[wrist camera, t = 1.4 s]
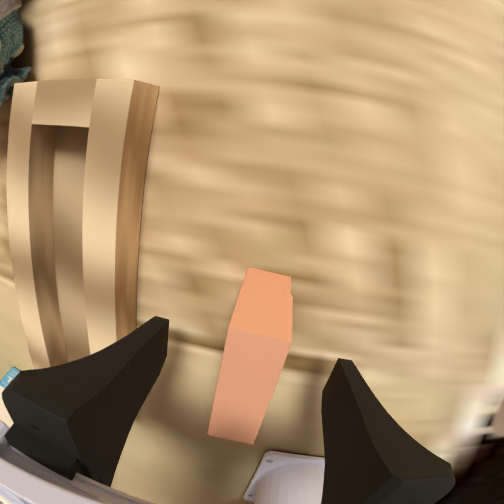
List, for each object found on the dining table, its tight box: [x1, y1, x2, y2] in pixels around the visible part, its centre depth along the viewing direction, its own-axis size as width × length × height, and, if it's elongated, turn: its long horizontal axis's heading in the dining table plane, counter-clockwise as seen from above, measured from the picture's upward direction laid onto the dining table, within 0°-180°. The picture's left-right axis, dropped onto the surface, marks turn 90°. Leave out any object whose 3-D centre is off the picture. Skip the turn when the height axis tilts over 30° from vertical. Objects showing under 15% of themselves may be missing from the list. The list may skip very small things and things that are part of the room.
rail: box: [7, 79, 159, 369], centre depth 15 cm, size 20×7×2 cm, turn 168°
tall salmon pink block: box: [207, 267, 293, 445], centre depth 13 cm, size 6×2×6 cm, turn 169°
